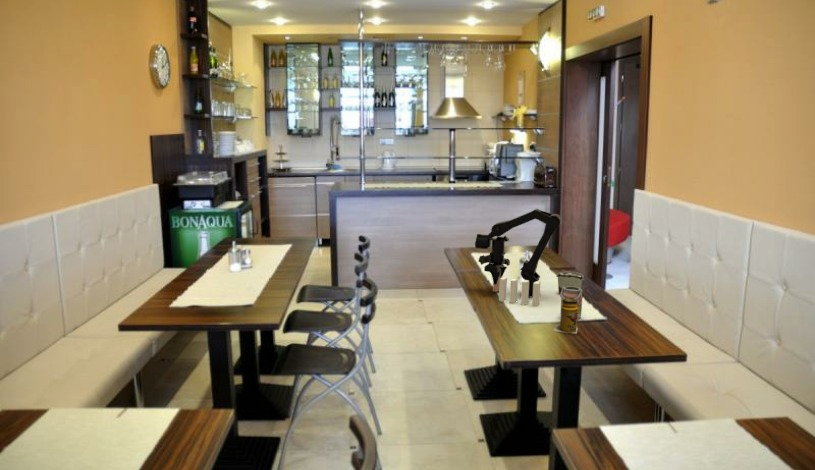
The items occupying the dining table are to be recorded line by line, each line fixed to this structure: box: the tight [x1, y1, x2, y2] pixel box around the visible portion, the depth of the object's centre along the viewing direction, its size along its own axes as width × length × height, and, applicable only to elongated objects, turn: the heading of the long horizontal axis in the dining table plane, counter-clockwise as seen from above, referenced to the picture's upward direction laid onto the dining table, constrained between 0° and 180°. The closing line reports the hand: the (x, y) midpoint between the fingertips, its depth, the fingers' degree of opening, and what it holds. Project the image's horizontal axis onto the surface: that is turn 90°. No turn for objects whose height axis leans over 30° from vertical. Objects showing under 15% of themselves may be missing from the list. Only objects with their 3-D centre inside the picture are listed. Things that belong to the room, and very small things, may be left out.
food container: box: [556, 271, 585, 296], centre depth 283 cm, size 12×6×10 cm, turn 65°
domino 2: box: [498, 276, 508, 303], centre depth 272 cm, size 2×4×10 cm, turn 152°
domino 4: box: [520, 279, 529, 306], centre depth 267 cm, size 2×4×10 cm, turn 152°
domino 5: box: [532, 280, 542, 308], centre depth 265 cm, size 2×4×10 cm, turn 152°
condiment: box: [553, 298, 578, 334], centre depth 233 cm, size 7×8×12 cm
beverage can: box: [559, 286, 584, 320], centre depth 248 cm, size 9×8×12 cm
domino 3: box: [509, 278, 519, 304], centre depth 269 cm, size 2×4×10 cm, turn 152°
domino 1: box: [492, 269, 501, 293], centre depth 285 cm, size 2×4×10 cm, turn 153°
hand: (496, 283), depth 285 cm, fingers closed on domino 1, 4 cm apart
